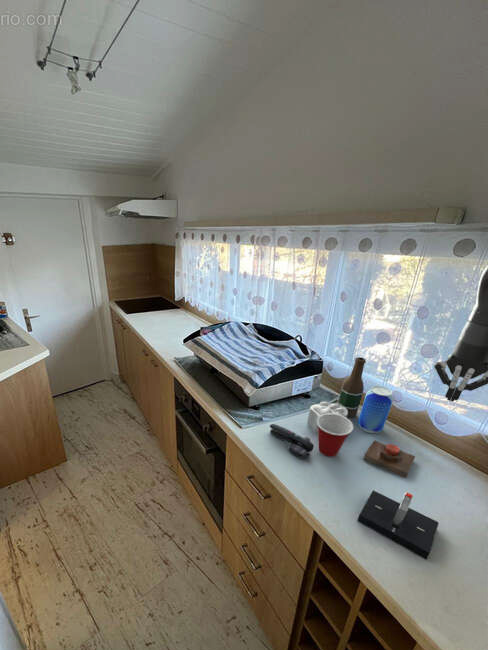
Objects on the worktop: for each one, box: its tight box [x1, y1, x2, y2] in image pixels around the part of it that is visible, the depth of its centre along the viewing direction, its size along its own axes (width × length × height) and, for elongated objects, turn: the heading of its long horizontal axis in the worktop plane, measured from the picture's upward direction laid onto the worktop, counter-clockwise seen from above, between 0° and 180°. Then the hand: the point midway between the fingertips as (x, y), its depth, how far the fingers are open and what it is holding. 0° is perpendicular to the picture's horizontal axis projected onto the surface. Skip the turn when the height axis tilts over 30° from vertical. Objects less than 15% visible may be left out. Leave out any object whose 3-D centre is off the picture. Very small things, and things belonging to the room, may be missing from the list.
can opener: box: [269, 423, 315, 459], centre depth 105 cm, size 18×7×6 cm, turn 32°
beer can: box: [357, 385, 394, 434], centre depth 111 cm, size 8×8×16 cm
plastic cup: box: [317, 413, 354, 458], centre depth 100 cm, size 11×11×12 cm
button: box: [385, 443, 401, 456], centre depth 97 cm, size 4×4×2 cm
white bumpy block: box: [306, 401, 348, 435], centre depth 113 cm, size 10×13×9 cm
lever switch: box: [356, 489, 440, 560], centre depth 77 cm, size 15×11×3 cm
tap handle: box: [392, 492, 414, 528], centre depth 75 cm, size 6×2×6 cm, turn 136°
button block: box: [362, 440, 416, 479], centre depth 98 cm, size 12×10×4 cm
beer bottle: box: [337, 356, 367, 419], centre depth 117 cm, size 8×8×24 cm
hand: (450, 399), depth 84 cm, fingers closed
